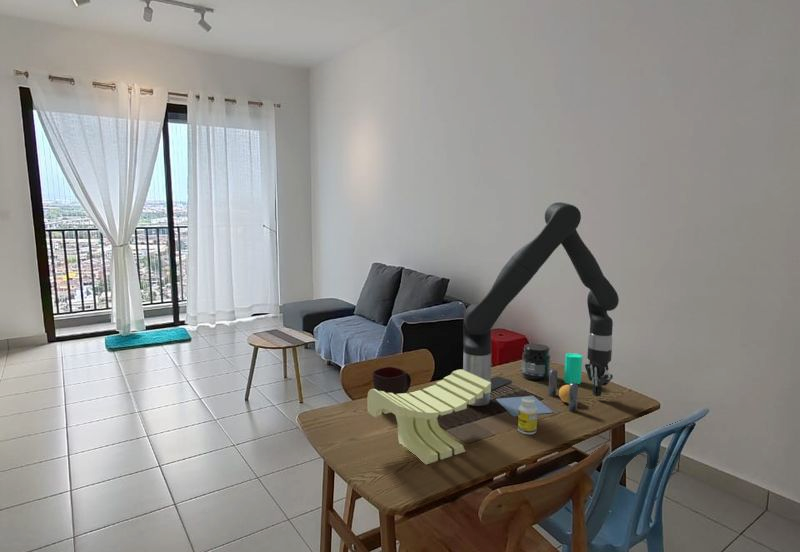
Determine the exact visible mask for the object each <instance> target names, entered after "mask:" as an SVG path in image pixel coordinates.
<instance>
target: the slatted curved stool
mask: <svg viewBox="0 0 800 552" xmlns="http://www.w3.org/2000/svg"><path fill="white" fill-rule="evenodd" d="M491 392H492V391H491V382H489V381H487V380H484V379H482V378H480V377H478V376H475V375H473V374H471V373H469V372H466V371H464V370H463V368H461V369H456V370H453V371H452V372H451V373H450V374H449V375H447V376H445V377H443V378H442V380H438V381H436V382H435V384H433V385H431V386H427V387H425V388H422V390H421V389H419V390H416V391H412V392H407V393H402V394H396V395H395V394H393V393H385V392H384V391H378V390H376V389H374V388H370V389H369V390H368V392H367V398H366V399H367V400H366V403H367V413H368V414H370V415H371V416H372V417H374V418H378V417H379V416H381V415H383V414H384V415H385V414H390V413H392V414H393V415H395V418H396V419H395V420H396V423H397V439H398V443H399V445H400V444H402V445H403V446H404V447H406V448H407V449H408V450H409V451H410V452H412V453H413V454H415V455H416V456H417V457H418V458H419V459H420V462H422V463H423V464H424V465H428V464H432V463H435V462H437V461H439V460H440V461H441V460H444V459H446V458H450V457H453V455H458V454H461V453H466V450H465V447H464V445H463V444H461V443H460V442H458V441H457V440H455V439H454V438H452V437H451V436H450V435H449V434H447V433H446V432H445V431H444V429H442V428H441V426H440V424H439V422H438V417H439V416H445V415H449V414H452V413H453V411H454V412H459V411H463V410H466V409H467V407H468V405H467V403H468V404H473V403H475V398H477V399H480V398H483V393H485V394H486V393H490V394H491ZM467 410H468V409H467ZM403 446H402V447H403ZM404 447H403V448H404ZM407 449H406V450H407ZM408 450H407V451H408ZM409 451H408V452H409ZM410 452H409V453H410ZM412 453H411V454H412ZM413 454H412V455H413ZM416 456H415V457H416ZM417 457H416V458H417ZM418 458H417V459H418ZM419 459H418V460H419Z"/></svg>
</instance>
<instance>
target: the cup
mask: <svg viewBox="0 0 800 552" xmlns="http://www.w3.org/2000/svg"><path fill="white" fill-rule="evenodd" d="M372 383H373V389H376V390H378V391H384V392H385V393H393V394H395V395H396V394H402V393H407V394H408V391H409V389H410V387H411V383H412V378H411V375H410V374H409V373H408V372H406V370H403V369H402V368H398V367H394V366H386V367H382V368H377V369H375V370H374V371H372Z"/></svg>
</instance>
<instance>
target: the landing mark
mask: <svg viewBox="0 0 800 552" xmlns="http://www.w3.org/2000/svg"><path fill="white" fill-rule="evenodd" d="M523 397H532V398H534V399H535V406H536V407H537V415H544V414H546V415H547V414H554V411H553V410H551V408H549V407H548V406H547V405H545V404H544V403H543V402H542V401H540V400H539V399H538V398H537V397H535V396H534V395H525V396H513V397H502V398H501V397H499V398H495V400H496V402H497V403H499V405H500V406H501V407H503V408H504V409H505V411H507V412H508V413H509V414H510V416H511V417H518V410H519V406H520V405H521V398H523Z"/></svg>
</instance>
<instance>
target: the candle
mask: <svg viewBox="0 0 800 552" xmlns="http://www.w3.org/2000/svg"><path fill="white" fill-rule="evenodd" d="M564 357H565V359H564V376H563V377H564V379H563V382H564V383H565V384H566V385H570V383H572V382H574V383H577V384H579V385H581V384H582V368H583V355H582V354H581V355H580V354H579V353H572V352H568V353H566V354H565V356H564ZM580 383H581V384H580Z"/></svg>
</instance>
